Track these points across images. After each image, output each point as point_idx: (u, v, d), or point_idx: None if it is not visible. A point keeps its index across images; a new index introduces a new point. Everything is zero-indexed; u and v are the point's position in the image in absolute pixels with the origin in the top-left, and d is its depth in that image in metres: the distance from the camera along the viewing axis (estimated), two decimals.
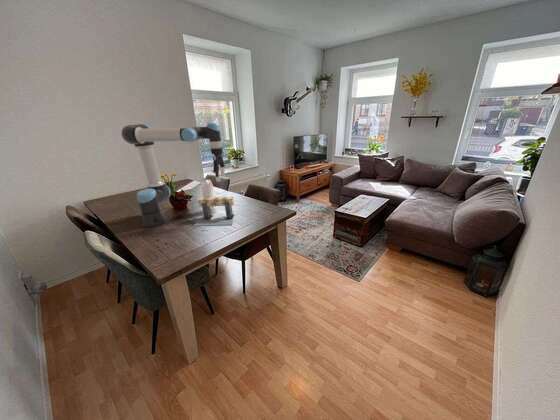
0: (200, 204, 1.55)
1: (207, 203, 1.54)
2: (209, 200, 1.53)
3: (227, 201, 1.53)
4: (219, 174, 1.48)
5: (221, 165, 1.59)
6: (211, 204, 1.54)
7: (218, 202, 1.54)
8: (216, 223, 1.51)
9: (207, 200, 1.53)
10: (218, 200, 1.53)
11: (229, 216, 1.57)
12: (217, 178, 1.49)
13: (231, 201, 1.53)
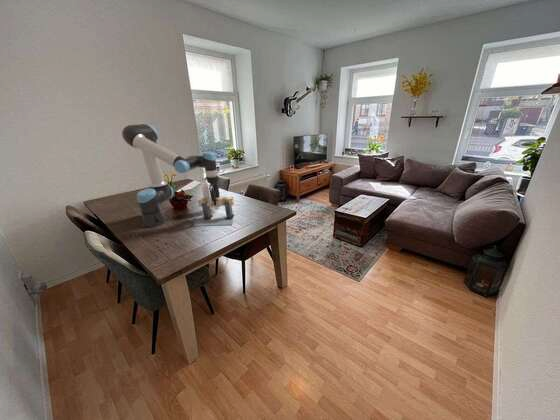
0: (200, 204, 1.55)
1: (207, 203, 1.54)
2: (209, 200, 1.53)
3: (227, 201, 1.53)
4: (217, 203, 1.54)
5: (216, 195, 1.57)
6: (211, 204, 1.54)
7: (218, 202, 1.54)
8: (216, 223, 1.51)
9: (207, 200, 1.53)
10: (218, 200, 1.53)
11: (229, 216, 1.57)
12: (215, 206, 1.54)
13: (231, 201, 1.53)
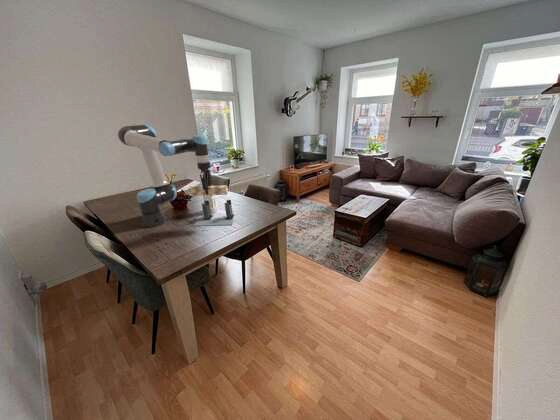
0: (190, 193, 1.42)
1: (198, 192, 1.42)
2: (200, 189, 1.41)
3: (220, 190, 1.41)
4: (209, 192, 1.41)
5: (208, 183, 1.44)
6: (203, 193, 1.42)
7: (210, 191, 1.41)
8: (216, 223, 1.51)
9: (198, 189, 1.41)
10: (210, 189, 1.41)
11: (229, 216, 1.57)
12: (207, 196, 1.42)
13: (224, 190, 1.41)
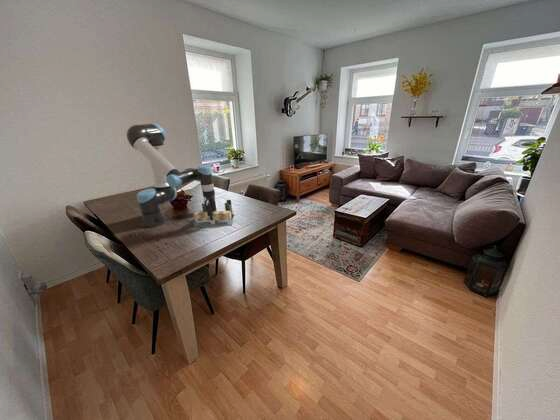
0: (195, 218, 1.49)
1: (203, 217, 1.49)
2: (205, 214, 1.48)
3: (224, 215, 1.48)
4: (213, 217, 1.48)
5: (213, 209, 1.51)
6: (207, 218, 1.49)
7: (214, 217, 1.48)
8: (216, 223, 1.51)
9: (203, 214, 1.48)
10: (215, 214, 1.48)
11: None
12: (211, 221, 1.49)
13: (228, 215, 1.48)
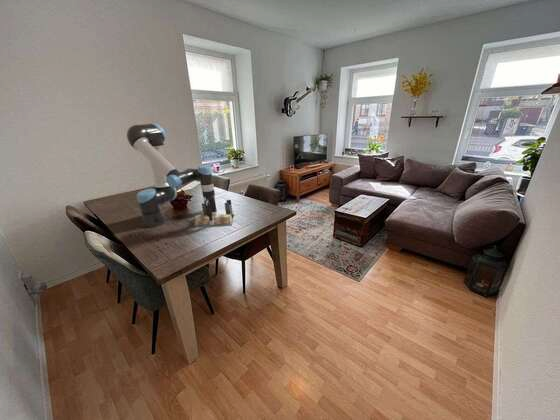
0: (196, 222, 1.50)
1: (204, 221, 1.50)
2: (206, 218, 1.49)
3: (224, 219, 1.49)
4: (213, 218, 1.47)
5: (213, 209, 1.51)
6: (208, 222, 1.50)
7: (215, 220, 1.49)
8: None
9: (204, 218, 1.49)
10: (215, 218, 1.49)
11: None
12: (211, 222, 1.48)
13: (229, 219, 1.49)
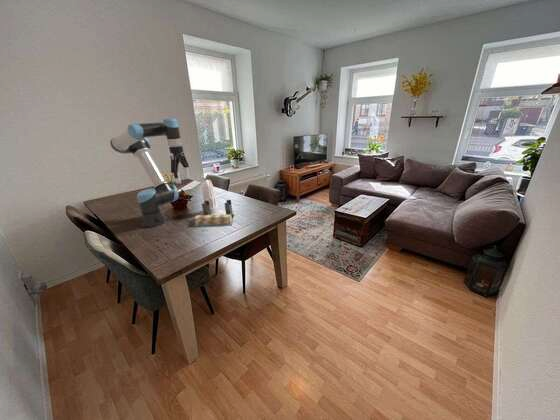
0: (196, 222, 1.50)
1: (204, 221, 1.50)
2: (206, 218, 1.49)
3: (224, 219, 1.49)
4: (178, 175, 1.35)
5: (184, 165, 1.45)
6: (208, 222, 1.50)
7: (215, 220, 1.49)
8: None
9: (204, 218, 1.49)
10: (215, 218, 1.49)
11: None
12: (176, 179, 1.35)
13: (229, 219, 1.49)
